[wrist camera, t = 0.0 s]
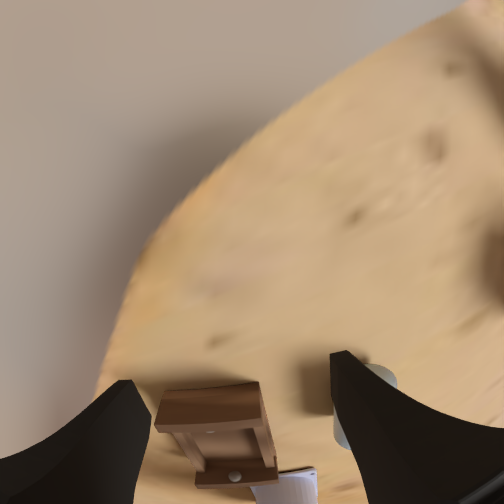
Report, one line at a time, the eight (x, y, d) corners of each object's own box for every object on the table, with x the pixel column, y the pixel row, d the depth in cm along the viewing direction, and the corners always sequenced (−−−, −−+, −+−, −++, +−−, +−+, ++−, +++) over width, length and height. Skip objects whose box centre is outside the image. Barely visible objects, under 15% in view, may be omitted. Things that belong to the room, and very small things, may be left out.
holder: (276, 453, 24) (279, 483, 20) (201, 459, 24) (197, 488, 21) (258, 381, 21) (261, 417, 17) (164, 391, 21) (153, 424, 18)
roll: (377, 404, 23) (395, 440, 18) (328, 418, 23) (340, 458, 18) (382, 356, 21) (407, 394, 16) (326, 371, 21) (342, 414, 17)
